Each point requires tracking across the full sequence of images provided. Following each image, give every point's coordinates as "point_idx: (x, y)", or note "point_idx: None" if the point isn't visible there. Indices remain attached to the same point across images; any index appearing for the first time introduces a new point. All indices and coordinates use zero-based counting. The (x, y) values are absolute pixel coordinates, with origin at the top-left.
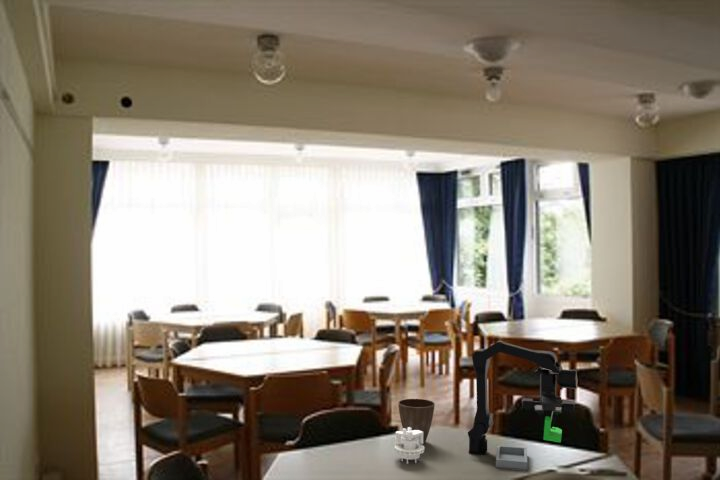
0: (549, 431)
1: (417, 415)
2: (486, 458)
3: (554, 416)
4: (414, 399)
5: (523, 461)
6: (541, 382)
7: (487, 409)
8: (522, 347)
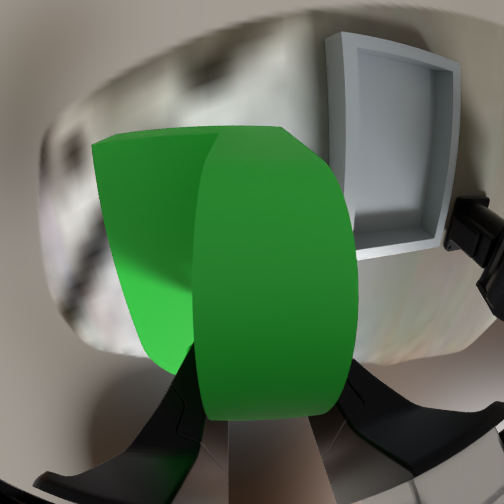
0: (220, 141)
1: None
2: (457, 163)
3: (165, 435)
4: None
5: (360, 40)
6: None
7: None
8: None
